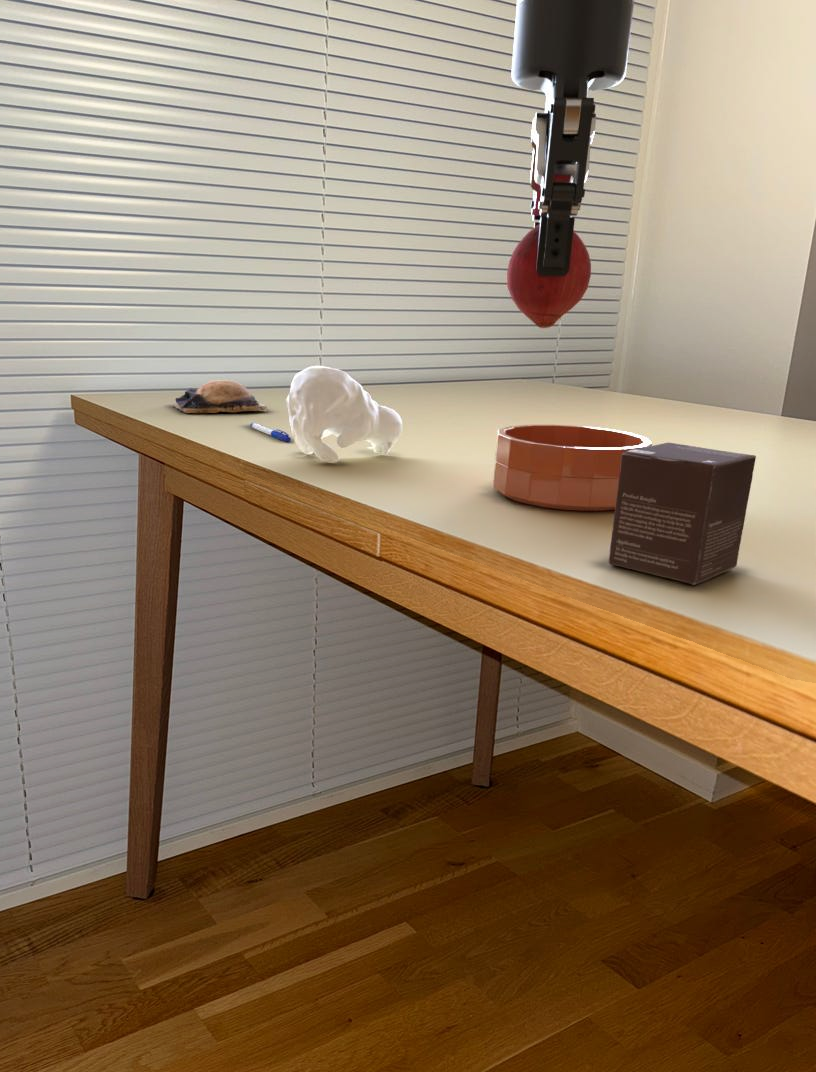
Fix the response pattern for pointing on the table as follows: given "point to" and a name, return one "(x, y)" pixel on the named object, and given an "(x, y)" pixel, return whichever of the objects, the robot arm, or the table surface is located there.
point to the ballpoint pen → (272, 432)
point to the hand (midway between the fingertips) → (548, 275)
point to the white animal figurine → (337, 414)
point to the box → (680, 511)
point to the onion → (546, 281)
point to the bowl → (562, 465)
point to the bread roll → (218, 398)
